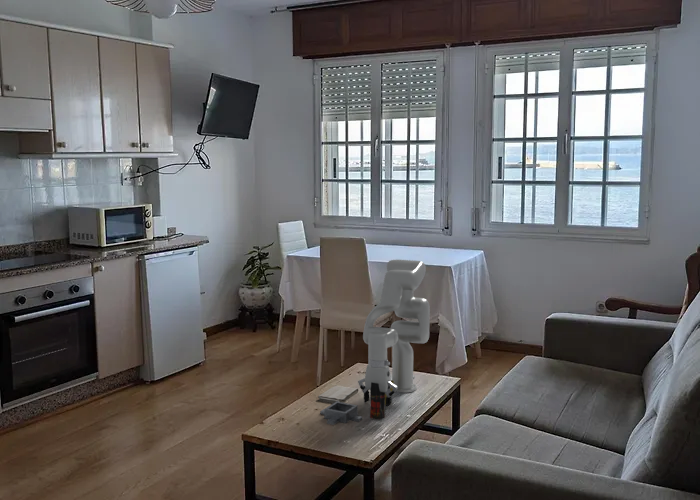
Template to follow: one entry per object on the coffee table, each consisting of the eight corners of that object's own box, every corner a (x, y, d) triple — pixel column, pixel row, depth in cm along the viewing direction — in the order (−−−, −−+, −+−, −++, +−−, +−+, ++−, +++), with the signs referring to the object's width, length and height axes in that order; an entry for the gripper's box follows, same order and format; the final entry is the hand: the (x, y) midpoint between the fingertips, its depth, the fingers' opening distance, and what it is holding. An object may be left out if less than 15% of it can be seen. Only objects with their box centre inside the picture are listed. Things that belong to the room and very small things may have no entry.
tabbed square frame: (333, 405, 282) (333, 396, 282) (370, 413, 274) (370, 404, 273) (310, 420, 267) (310, 410, 266) (350, 428, 258) (350, 418, 257)
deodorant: (368, 415, 272) (368, 379, 270) (381, 413, 274) (381, 378, 272) (373, 420, 266) (373, 384, 264) (386, 418, 268) (387, 382, 266)
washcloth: (316, 402, 288) (316, 395, 288) (335, 389, 304) (335, 382, 304) (341, 406, 283) (341, 399, 283) (359, 393, 299) (358, 386, 299)
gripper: (401, 363, 266) (400, 404, 268) (362, 357, 274) (362, 397, 277) (393, 368, 260) (392, 410, 262) (354, 362, 268) (354, 403, 270)
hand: (377, 403), depth 269 cm, fingers open, 9 cm apart
